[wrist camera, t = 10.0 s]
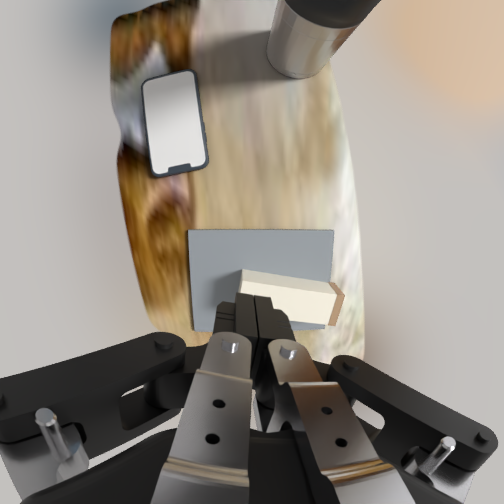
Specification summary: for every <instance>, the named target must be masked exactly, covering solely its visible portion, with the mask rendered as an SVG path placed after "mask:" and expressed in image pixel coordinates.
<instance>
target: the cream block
mask: <svg viewBox="0 0 504 504" xmlns="http://www.w3.org/2000/svg"><path fill="white" fill-rule="evenodd" d="M238 292H239V293H245V294H251V295H253V296H254V295H258V296H265V297H271V300H272V304H273V308H274V309H280V310H282V311H283V312H284V313H285V314H286V315H287V316H288V319H289V320H290V321H298V322H307V323H316V324H325V325H331V326H335V325H336V322H337V319H338V316H339V313H340V310H341V306H342V303H343V300H344V297H345V295H344V294H343V293H342V291H341V290H340V289H339V288H338V287H337V285H336V284H335V283H331V282H321V281H315V280H308V279H302V278H295V277H289V276H283V275H276V274H270V273H264V272H258V271H251V270H245V269H242V274H241V279H240V285H239V290H238Z"/></svg>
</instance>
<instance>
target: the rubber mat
mask: <svg viewBox="0 0 504 504" xmlns="http://www.w3.org/2000/svg"><path fill="white" fill-rule="evenodd" d="M188 240H189V261H190V278H191V293H192V306H193V318H194V329H195V331H201V332H213V328H214V322H215V315H216V309H217V305H218V304H220V303H221V302H222V301H226V302H232V303H234V301H235V296H236V292H238V290H239V285H240V279H241V274H242V269H245V270H251V271H258V272H264V273H270V274H276V275H283V276H289V277H295V278H302V279H308V280H315V281H321V282H330V278H331V268H332V256H333V243H334V230H303V229H194V230H188ZM289 322H290V325H291V329H292V331H295V330H314V329H325V324H316V323H307V322H298V321H290V320H289Z"/></svg>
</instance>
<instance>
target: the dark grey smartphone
mask: <svg viewBox="0 0 504 504" xmlns="http://www.w3.org/2000/svg"><path fill="white" fill-rule="evenodd" d="M141 91H142V102H143V112H144V121H145V130H146V140H147V146H148V153H149V160H150V166H151V172H152V174H153V175H154V176H156V177H165V176H170V175H174V174H179V173H184V172H189V171H194V170H199V169H203V168H205V167H206V166H207V165H208V163H209V156H208V149H207V143H206V142H207V138H206V133H205V125H204V122H203V116H202V109H201V102H200V95H199V88H198V81H197V75H196V73H195V71H193V70H191V69H186V70H181V71H177V72H173V73H168V74H164V75H161V76H157V77H153V78H150V79H147V80H145V81H144V82H143V83H142V86H141Z"/></svg>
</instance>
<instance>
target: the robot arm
mask: <svg viewBox="0 0 504 504" xmlns="http://www.w3.org/2000/svg"><path fill="white" fill-rule="evenodd" d="M380 1H381V0H278V3H277V7H276V11H275V15H274V19H273V23H272V28H271V32H270V36H269V40H268V45H267V57H268V60H269V62H270V64H271V65H272V66H273V67H274V68H275V69H276V70H277V71H278V72H280V73H282V74H283V75H285V76H288V77H291V78H309V77H311V76H314V75H315V74H317V73H318V72H319V71H320V70H321V69H322V68H323V67H324V65H325V64H326V63H327V62H328V61H329V60H330V58H331V57H332V56H333V55H334V54H335V53H336V51H337V50H338V49H339V48H340V47H341V45H342V44H343V43H344V42H345V41H346V39H347V38H348V37H349V36H350V35H351V34H352V33H353V31H354V30H355V29H356V28H357V27H358V26H359V25H360V23H361V22H362V21H363V20H364V19H365V18H366V17H367V15H368V14H369V13H370V12H371V11H372V9H373V8H374V7H375V6H376V5H377V4H378V3H379V2H380ZM141 385H144V387H143V388H141V389H139V390H137V391H134V392H132V393H129V394H127V395H125V396H123V397H121V396H122V395H123V394H124V393H126V392H127V391H130V390H132V389H134V388H137V387H139V386H141ZM252 389H254V390H255V391H256V394H255V398H254V401H253V408H254V414H255V420H256V425H257V430H254V429H250V419H251V400H252ZM356 400H358V401H360V402H361V403H363V404H364V405H366V406H368V407H369V408H371V409H373V410H374V411H376V412H378V413H379V414H381V415H382V416H383V418H384V420H385V425H384V427H383V428H382V429H377V428H375V427H374V426H372V425H370V424H368V423H367V422H366V421H364V420H362V419H360V418H359V417H358V416H356V414H355V413H354V411H353V409H352V406H353V405H354V403H355V401H356ZM181 408H184V409H183V412H182V415H181V419H180V422H179V425H178V428H174V429H169V430H165V431H162V432H159V433H156V434H154V435H151V436H150V437H148V438H146V439H144V440H143V441H141V442H139V443H137V444H136V445H134V446H132V447H130V448H128V449H127V450H125V451H123V452H121V453H119V454H117V455H116V456H114V457H112V458H110V459H108V460H106V461H104V462H102V463H100V464H98V465H96V466H94V467H92V468H90V469H88V466H89V460H90V459H92V458H94V457H96V456H99V455H101V454H103V453H105V452H107V451H110V450H112V449H114V448H116V447H118V446H120V445H122V444H124V443H126V442H128V441H130V440H132V439H134V438H136V437H137V436H140V435H142V434H143V433H145V432H147V431H149V430H151V429H153V428H155V427H157V426H158V425H160V424H162V423H164V422H166V421H167V420H169V419H171V418H173V417H174V416H176V415H177V414H179V413H180V411H181ZM497 447H498V440H497V437H496V435H495V434H494V432H493V431H492V430H491V429H489V428H488V427H486V426H484V425H482V424H480V423H478V422H476V421H474V420H472V419H470V418H468V417H466V416H464V415H462V414H460V413H458V412H456V411H454V410H452V409H450V408H448V407H446V406H444V405H442V404H440V403H438V402H437V401H434V400H433V399H431V398H429V397H427V396H425V395H423V394H421V393H420V392H418V391H416V390H414V389H412V388H410V387H409V386H407V385H405V384H403V383H401V382H399V381H397V380H396V379H394V378H392V377H390V376H389V375H387V374H384V373H383V372H381V371H380V370H378V369H376V368H374V367H372V366H371V365H369V364H367V363H365V362H364V361H362V360H360V359H358V358H356V357H353V356H349V355H339V356H336V357H334V358H333V359H332V361H331V364H330V365H329V364H325V363H321V362H317V361H314V360H312V358H311V356H310V354H309V352H308V350H307V349H306V348H305V347H304V346H303V345H301V344H300V343H298V342H296V340H295V337H294V334H293V331H292V329H291V325H290V322H289V319H288V316H287V315H286V314H285V313H284V312H283V311H282V310H280V309H274V308H273V304H272V300H271V297H265V296H258V295H254V296H253V295H251V294H245V293H239V292H236V296H235V301H234V303H232V302H226V301H222V302H221V303H220V304H218V305H217V309H216V315H215V322H214V328H213V334H212V336H211V337H210V339H209V342H208V343H206V344H204V345H201V346H196V347H186V343H185V342H184V340H183V339H182V338H180V337H179V336H177V335H175V334H172V333H167V332H154V333H151V334H147V335H145V336H141V337H138V338H135V339H132V340H130V341H127V342H124V343H120V344H117V345H114V346H111V347H108V348H105V349H102V350H98V351H95V352H92V353H89V354H86V355H83V356H79V357H76V358H72V359H69V360H66V361H62V362H59V363H55V364H52V365H49V366H46V367H42V368H38V369H34V370H31V371H27V372H23V373H20V374H16V375H12V376H8V377H4V378H0V454H1V457H2V459H3V462H4V464H5V466H6V469H7V471H8V473H9V475H10V477H11V479H12V482H13V484H14V486H15V487H16V490H17V492H18V493H19V495H20V497H21V499H22V502H21V503H20V504H464V501H465V499H466V496H467V493H468V491H469V488H470V485H471V483H472V480H473V476H474V474H475V472H476V471H477V470H478V469H479V468H480V466H482V464H483V463H484V462H485V461H486V460H487V459H488V458H489V457H490V456H491V455H492V453H493V452H494V451H495V450H496V449H497Z"/></svg>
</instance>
